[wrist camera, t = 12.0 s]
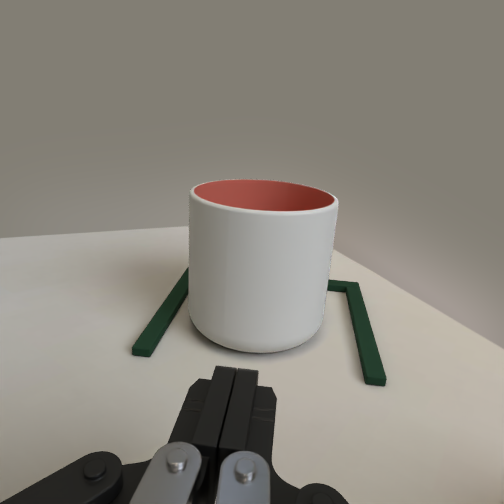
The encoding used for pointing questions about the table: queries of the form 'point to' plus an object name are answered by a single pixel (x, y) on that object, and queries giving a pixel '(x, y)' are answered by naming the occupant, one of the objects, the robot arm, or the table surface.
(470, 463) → the table surface
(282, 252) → the cup
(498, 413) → the table surface
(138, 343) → the frame
